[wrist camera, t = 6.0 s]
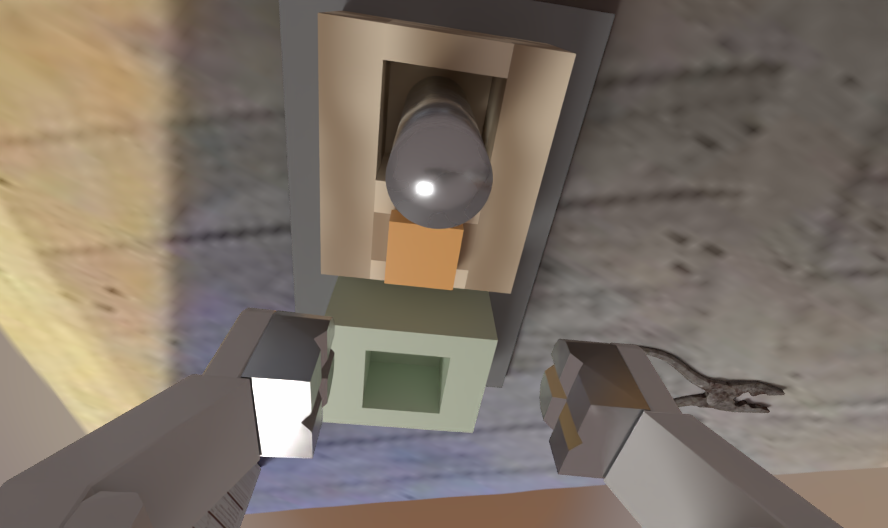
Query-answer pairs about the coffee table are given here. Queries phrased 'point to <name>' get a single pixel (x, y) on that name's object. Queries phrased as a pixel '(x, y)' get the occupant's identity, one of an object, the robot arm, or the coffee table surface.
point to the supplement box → (231, 504)
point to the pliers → (716, 388)
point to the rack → (409, 355)
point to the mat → (453, 6)
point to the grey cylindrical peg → (438, 157)
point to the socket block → (376, 122)
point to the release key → (421, 254)
